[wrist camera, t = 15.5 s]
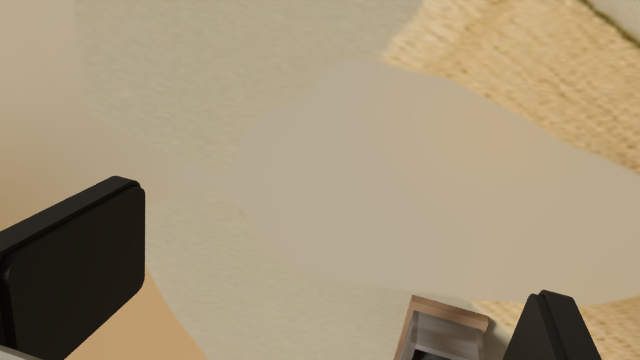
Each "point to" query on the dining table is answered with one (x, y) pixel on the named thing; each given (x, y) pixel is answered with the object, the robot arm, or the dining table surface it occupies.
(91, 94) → the dining table surface
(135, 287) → the robot arm
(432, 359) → the hinge pin
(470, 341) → the open cube shadow box
